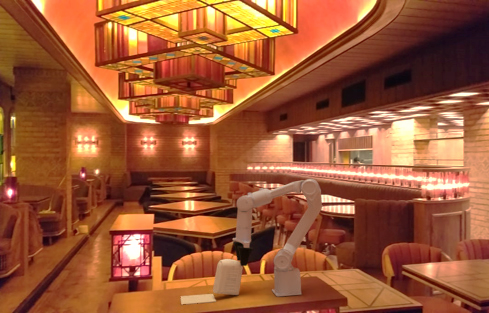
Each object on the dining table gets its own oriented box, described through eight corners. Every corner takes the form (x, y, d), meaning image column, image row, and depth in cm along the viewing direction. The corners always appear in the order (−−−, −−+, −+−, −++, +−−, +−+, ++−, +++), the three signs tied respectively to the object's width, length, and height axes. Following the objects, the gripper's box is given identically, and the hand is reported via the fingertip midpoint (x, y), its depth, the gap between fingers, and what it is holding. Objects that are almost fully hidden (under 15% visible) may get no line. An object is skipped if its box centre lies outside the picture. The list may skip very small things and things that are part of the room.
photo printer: (233, 293, 154) (239, 260, 157) (240, 295, 151) (245, 261, 153) (210, 291, 149) (216, 257, 151) (216, 294, 145) (222, 258, 148)
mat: (213, 294, 153) (212, 293, 153) (215, 301, 145) (215, 301, 145) (180, 297, 151) (180, 296, 151) (181, 304, 142) (181, 304, 142)
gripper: (230, 223, 163) (228, 258, 163) (236, 230, 149) (234, 267, 148) (248, 224, 164) (245, 258, 164) (255, 230, 150) (253, 268, 150)
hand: (241, 263), depth 156 cm, fingers open, 7 cm apart
